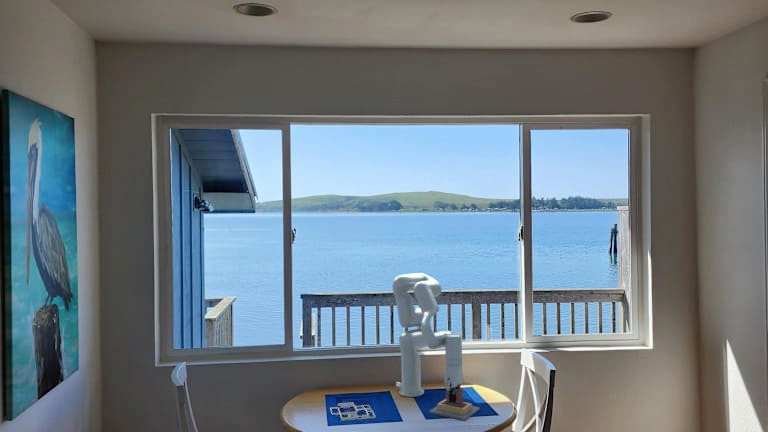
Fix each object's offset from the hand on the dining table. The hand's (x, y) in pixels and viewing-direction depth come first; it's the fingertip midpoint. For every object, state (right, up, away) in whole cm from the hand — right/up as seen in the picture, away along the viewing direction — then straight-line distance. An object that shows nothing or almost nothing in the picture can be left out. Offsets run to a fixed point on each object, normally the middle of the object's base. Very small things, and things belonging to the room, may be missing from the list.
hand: (454, 400), depth 269 cm
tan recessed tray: (0, -5, 0) cm, 5 cm away
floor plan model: (-50, -7, +1) cm, 51 cm away
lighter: (0, -2, 0) cm, 2 cm away
